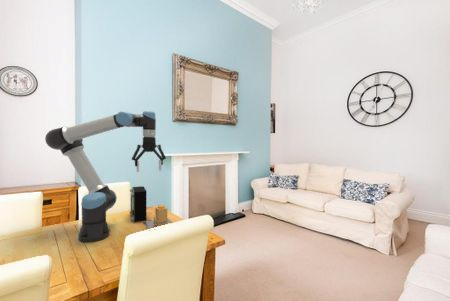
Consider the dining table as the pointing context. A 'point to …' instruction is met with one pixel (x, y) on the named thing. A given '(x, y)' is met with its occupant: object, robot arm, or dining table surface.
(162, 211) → the cube with dome knob
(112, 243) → the dining table surface
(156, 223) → the amber glass cylinder
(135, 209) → the electrical component
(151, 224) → the plate
